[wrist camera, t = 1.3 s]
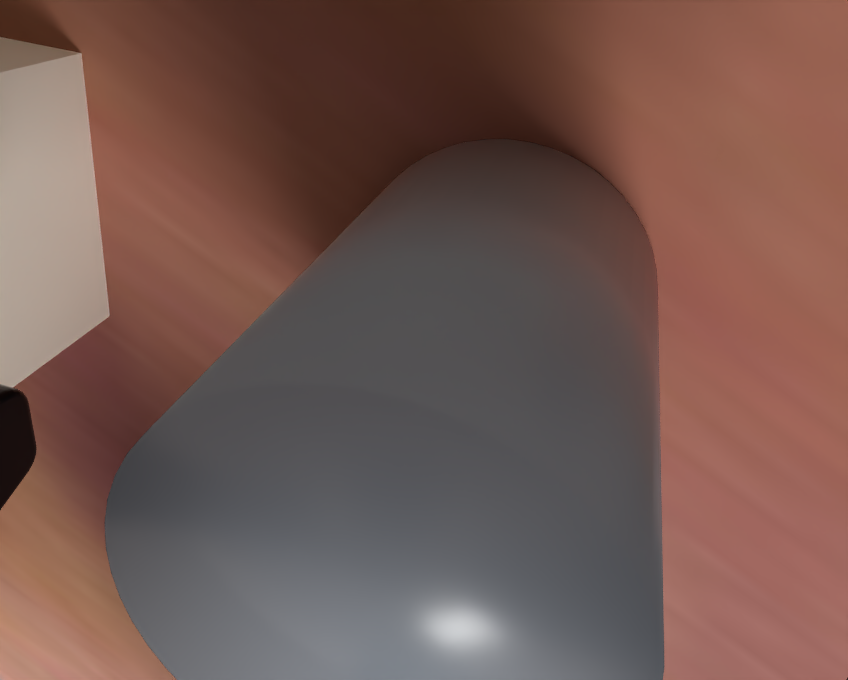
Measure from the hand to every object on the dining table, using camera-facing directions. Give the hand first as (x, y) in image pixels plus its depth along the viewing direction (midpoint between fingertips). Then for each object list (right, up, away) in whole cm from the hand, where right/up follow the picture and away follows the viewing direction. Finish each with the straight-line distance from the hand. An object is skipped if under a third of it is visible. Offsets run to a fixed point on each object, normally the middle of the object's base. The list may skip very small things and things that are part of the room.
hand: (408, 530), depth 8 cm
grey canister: (+1, +3, +5) cm, 6 cm away
